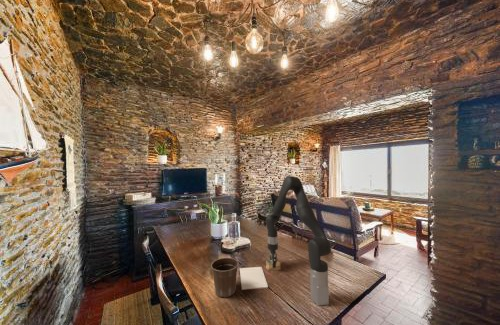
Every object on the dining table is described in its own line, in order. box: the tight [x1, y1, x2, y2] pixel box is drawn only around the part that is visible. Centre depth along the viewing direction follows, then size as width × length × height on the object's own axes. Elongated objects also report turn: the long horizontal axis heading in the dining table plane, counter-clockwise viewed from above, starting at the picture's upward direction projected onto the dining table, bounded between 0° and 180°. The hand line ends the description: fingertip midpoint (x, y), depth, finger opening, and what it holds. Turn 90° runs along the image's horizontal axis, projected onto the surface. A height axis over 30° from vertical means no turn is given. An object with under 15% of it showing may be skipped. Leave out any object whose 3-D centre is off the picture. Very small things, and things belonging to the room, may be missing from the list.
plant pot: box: [210, 257, 239, 298], centre depth 116 cm, size 16×16×16 cm
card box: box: [265, 258, 281, 272], centre depth 142 cm, size 5×9×5 cm, turn 104°
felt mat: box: [239, 266, 269, 291], centre depth 130 cm, size 24×16×1 cm, turn 6°
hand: (272, 264), depth 142 cm, fingers open, 8 cm apart
